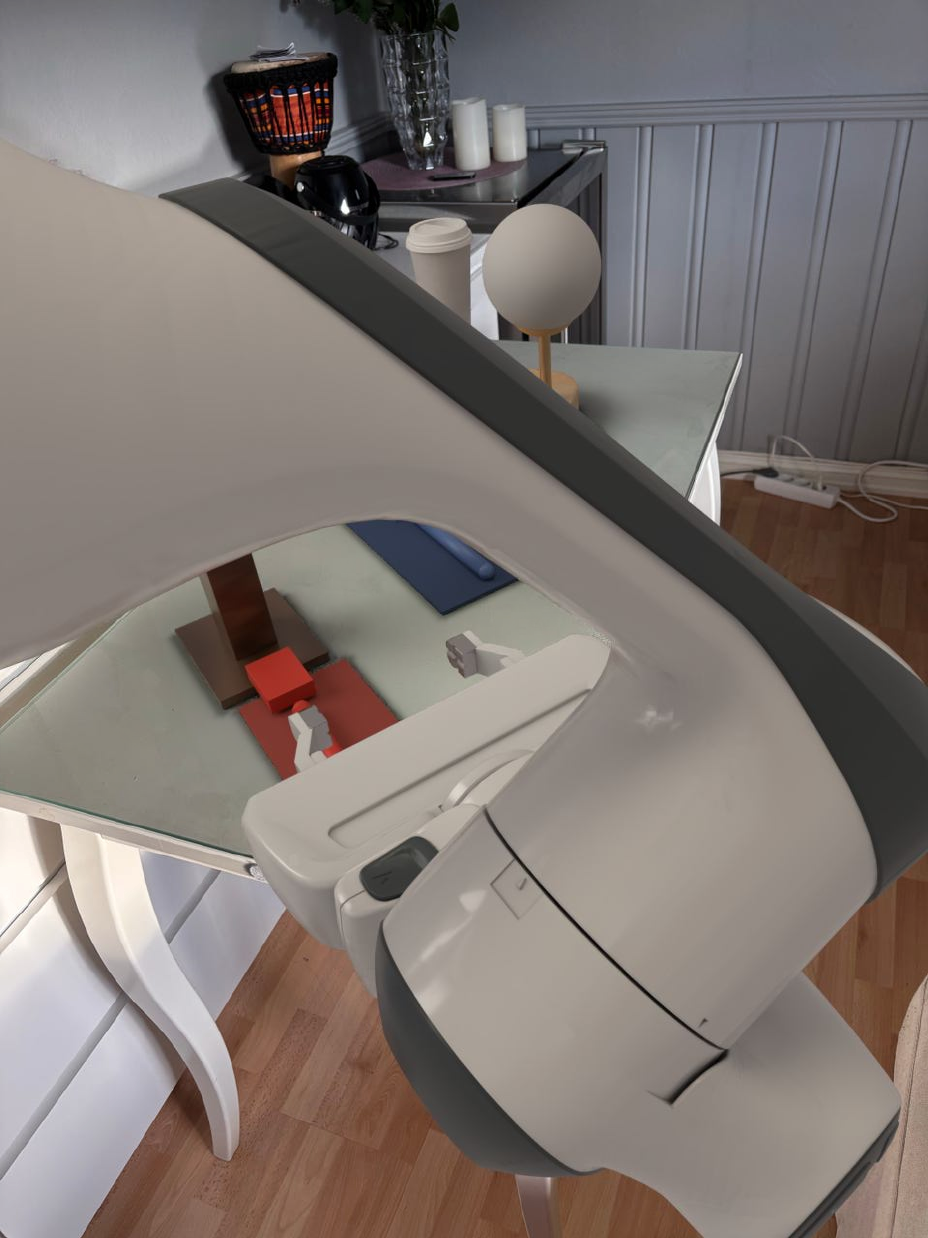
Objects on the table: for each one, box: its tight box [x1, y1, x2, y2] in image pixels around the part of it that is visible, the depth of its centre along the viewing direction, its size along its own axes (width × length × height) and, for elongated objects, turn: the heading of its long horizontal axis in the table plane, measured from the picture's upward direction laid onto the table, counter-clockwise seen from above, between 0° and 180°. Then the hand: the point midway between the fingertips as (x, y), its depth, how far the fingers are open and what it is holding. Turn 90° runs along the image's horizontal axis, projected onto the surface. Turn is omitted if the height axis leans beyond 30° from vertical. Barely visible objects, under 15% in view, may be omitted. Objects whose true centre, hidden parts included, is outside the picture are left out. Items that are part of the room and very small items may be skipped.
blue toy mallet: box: [394, 520, 494, 579], centre depth 92 cm, size 20×4×2 cm, turn 33°
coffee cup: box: [405, 217, 474, 325], centre depth 130 cm, size 10×10×15 cm
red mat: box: [237, 658, 400, 781], centre depth 73 cm, size 10×12×1 cm
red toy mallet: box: [245, 647, 343, 758], centre depth 71 cm, size 20×4×2 cm, turn 32°
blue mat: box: [345, 520, 520, 616], centre depth 92 cm, size 12×22×1 cm, turn 33°
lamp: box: [481, 203, 602, 411], centre depth 104 cm, size 33×17×25 cm, turn 71°
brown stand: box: [174, 553, 331, 710], centre depth 74 cm, size 10×12×26 cm
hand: (382, 680), depth 48 cm, fingers open, 8 cm apart
